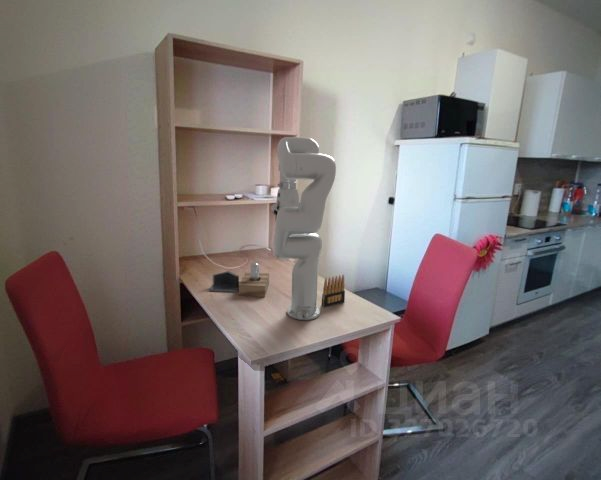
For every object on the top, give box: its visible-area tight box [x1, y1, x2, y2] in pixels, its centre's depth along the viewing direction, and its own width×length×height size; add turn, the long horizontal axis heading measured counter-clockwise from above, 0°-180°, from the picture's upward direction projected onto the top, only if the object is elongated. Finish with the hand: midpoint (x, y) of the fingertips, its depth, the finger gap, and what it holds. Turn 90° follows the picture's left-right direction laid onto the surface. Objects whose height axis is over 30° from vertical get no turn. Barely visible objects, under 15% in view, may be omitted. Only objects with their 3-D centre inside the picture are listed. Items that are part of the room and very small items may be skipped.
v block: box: [209, 270, 241, 293], centre depth 158 cm, size 12×10×6 cm
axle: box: [250, 262, 260, 281], centre depth 156 cm, size 4×4×12 cm
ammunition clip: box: [320, 274, 346, 308], centre depth 144 cm, size 11×2×12 cm, turn 123°
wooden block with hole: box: [238, 272, 270, 298], centre depth 157 cm, size 16×11×5 cm
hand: (287, 223), depth 164 cm, fingers open, 9 cm apart
